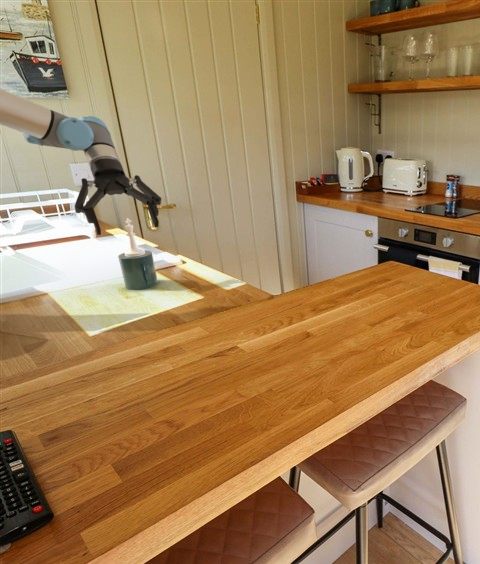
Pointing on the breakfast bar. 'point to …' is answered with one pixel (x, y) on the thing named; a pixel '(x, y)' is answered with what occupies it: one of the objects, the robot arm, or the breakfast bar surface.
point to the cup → (138, 271)
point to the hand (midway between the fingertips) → (129, 228)
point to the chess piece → (132, 242)
